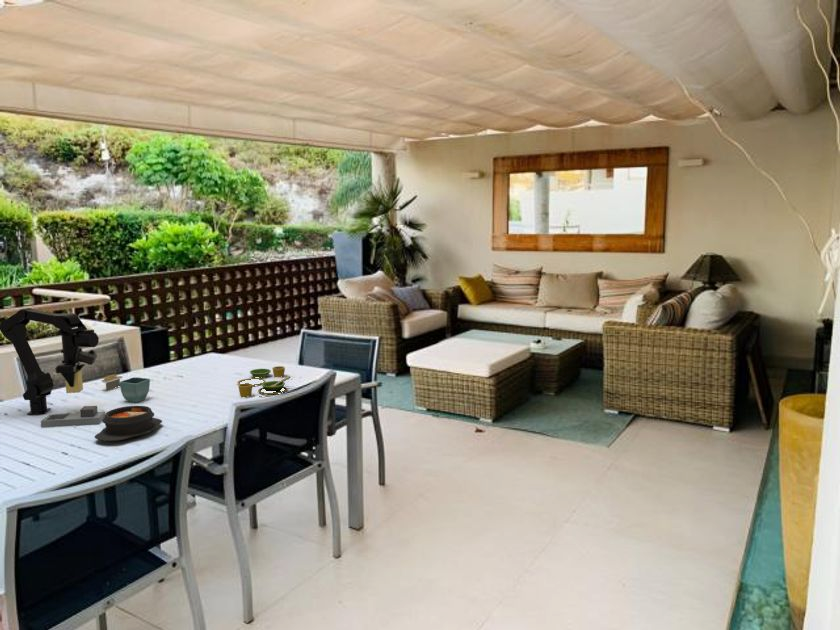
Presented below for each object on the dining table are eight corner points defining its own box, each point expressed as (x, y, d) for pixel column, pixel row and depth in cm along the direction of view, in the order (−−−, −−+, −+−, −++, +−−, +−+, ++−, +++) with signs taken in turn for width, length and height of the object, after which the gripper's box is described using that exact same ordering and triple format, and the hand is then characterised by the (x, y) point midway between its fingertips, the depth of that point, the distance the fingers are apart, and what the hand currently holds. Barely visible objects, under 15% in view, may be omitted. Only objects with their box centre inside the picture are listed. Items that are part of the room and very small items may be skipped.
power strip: (49, 420, 238) (48, 406, 237) (105, 417, 242) (104, 404, 241) (41, 427, 230) (39, 413, 229) (99, 424, 234) (98, 410, 233)
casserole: (134, 420, 239) (133, 399, 237) (174, 425, 233) (173, 404, 232) (81, 442, 215) (79, 419, 214) (124, 448, 209) (122, 425, 208)
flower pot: (152, 398, 267) (150, 378, 266) (137, 404, 259) (136, 383, 257) (134, 397, 269) (133, 376, 268) (120, 402, 261) (118, 382, 260)
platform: (85, 393, 276) (84, 379, 275) (116, 383, 293) (115, 369, 292) (107, 396, 272) (106, 381, 271) (137, 385, 289) (136, 371, 288)
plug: (70, 389, 245) (68, 366, 244) (83, 389, 246) (81, 365, 245) (66, 393, 241) (64, 369, 240) (79, 392, 242) (77, 368, 240)
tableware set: (279, 400, 267) (279, 386, 266) (217, 398, 269) (216, 384, 268) (305, 376, 307) (305, 363, 306) (251, 374, 310) (251, 362, 309)
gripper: (85, 350, 233) (89, 390, 236) (100, 340, 252) (103, 378, 254) (53, 351, 231) (57, 392, 234) (70, 341, 249) (73, 379, 252)
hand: (74, 385), depth 243 cm, fingers closed on plug, 5 cm apart
